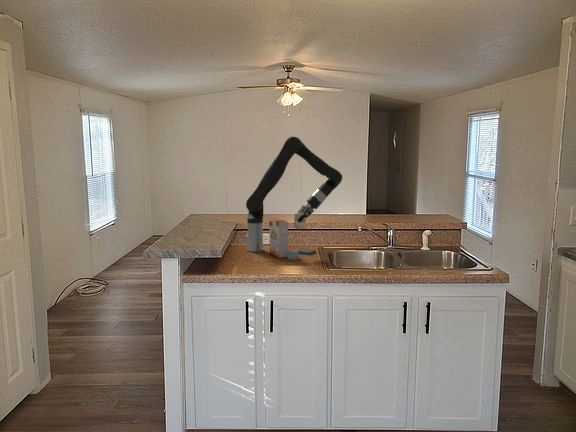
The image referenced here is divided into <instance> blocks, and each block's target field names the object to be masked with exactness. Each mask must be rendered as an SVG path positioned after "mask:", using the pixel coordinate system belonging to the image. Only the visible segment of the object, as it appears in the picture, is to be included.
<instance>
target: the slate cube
mask: <svg viewBox="0 0 576 432" xmlns="http://www.w3.org/2000/svg"><path fill="white" fill-rule="evenodd" d="M296 250H297V249H296ZM296 250H294V249H291V250H288V257H287V260H293V261H294V260H298V259H299V258H300V257H299V252H298V251H296Z"/></svg>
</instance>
